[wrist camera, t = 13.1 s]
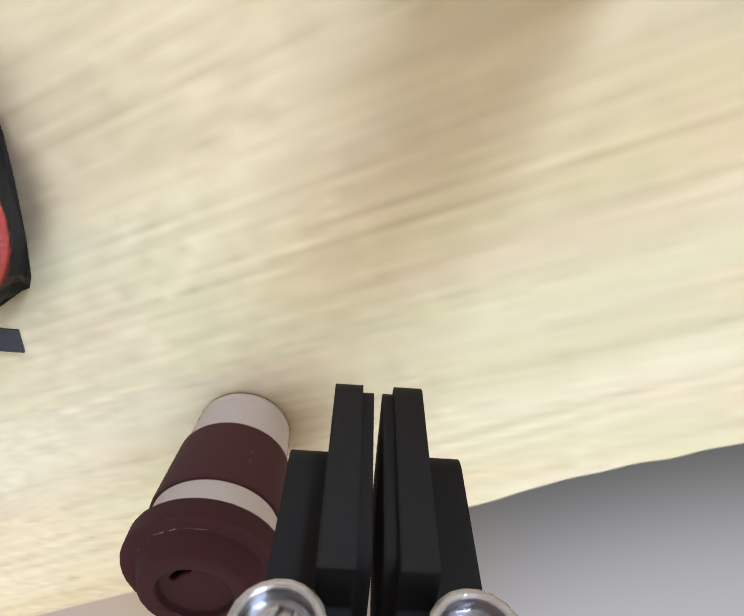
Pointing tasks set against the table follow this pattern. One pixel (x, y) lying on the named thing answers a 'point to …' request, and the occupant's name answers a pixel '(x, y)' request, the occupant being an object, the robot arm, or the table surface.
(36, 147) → the table surface
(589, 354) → the table surface
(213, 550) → the coffee cup
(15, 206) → the baking dish
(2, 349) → the tape outline
